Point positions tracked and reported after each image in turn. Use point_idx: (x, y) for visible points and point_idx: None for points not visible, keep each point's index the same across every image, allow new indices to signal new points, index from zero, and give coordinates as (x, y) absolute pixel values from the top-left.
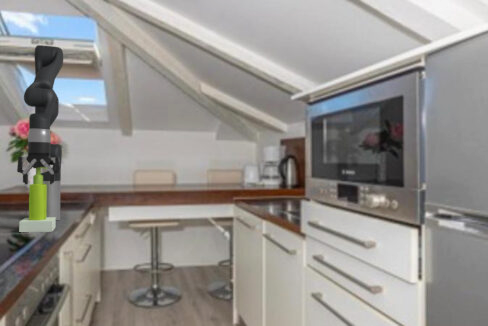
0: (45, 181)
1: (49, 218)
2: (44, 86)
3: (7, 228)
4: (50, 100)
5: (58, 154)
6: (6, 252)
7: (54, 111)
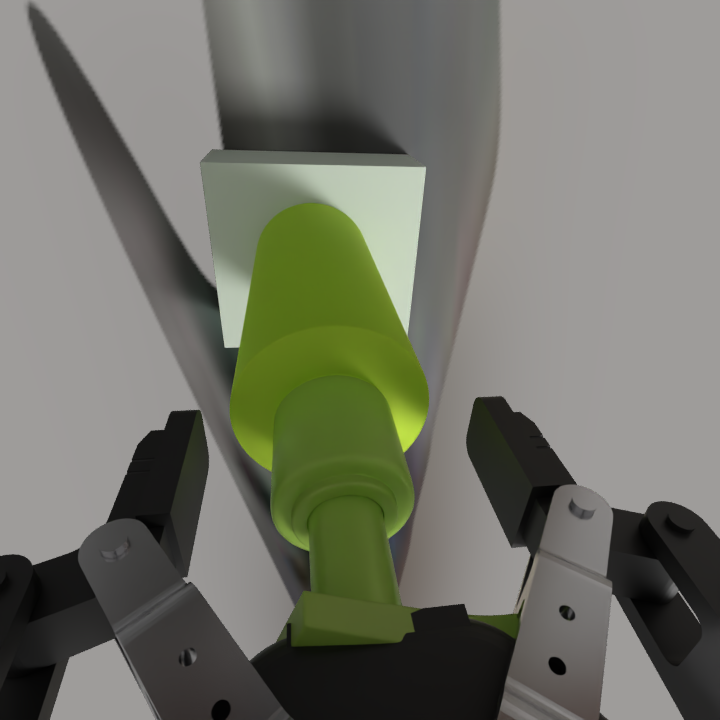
0: None
1: (386, 235)
2: None
3: (85, 127)
4: None
5: None
6: (294, 594)
7: None
